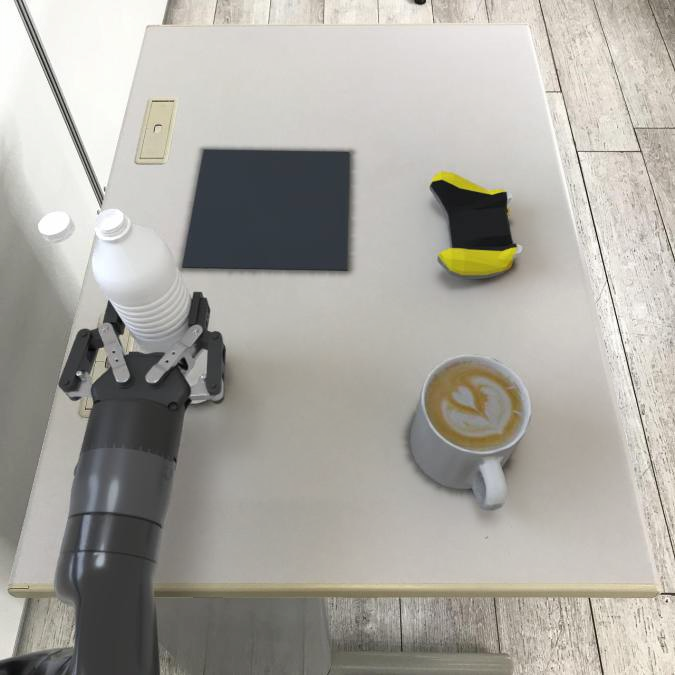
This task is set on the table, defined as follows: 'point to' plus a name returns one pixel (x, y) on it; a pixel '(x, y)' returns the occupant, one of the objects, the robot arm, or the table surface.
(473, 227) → the gaming controller
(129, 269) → the water bottle
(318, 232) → the mat
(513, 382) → the coffee mug
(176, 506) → the table surface
